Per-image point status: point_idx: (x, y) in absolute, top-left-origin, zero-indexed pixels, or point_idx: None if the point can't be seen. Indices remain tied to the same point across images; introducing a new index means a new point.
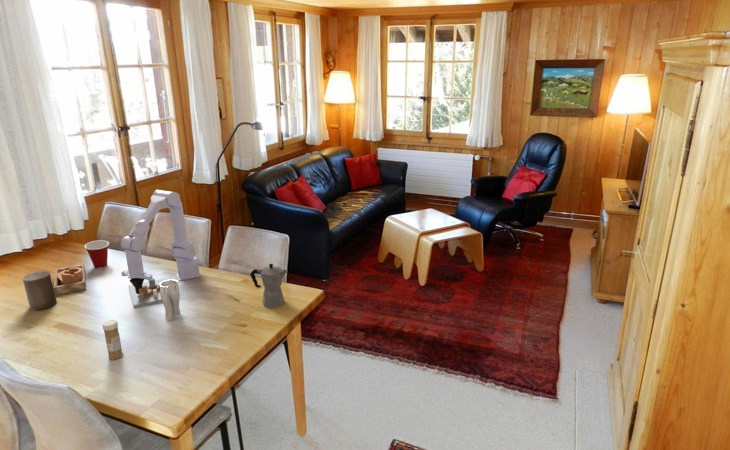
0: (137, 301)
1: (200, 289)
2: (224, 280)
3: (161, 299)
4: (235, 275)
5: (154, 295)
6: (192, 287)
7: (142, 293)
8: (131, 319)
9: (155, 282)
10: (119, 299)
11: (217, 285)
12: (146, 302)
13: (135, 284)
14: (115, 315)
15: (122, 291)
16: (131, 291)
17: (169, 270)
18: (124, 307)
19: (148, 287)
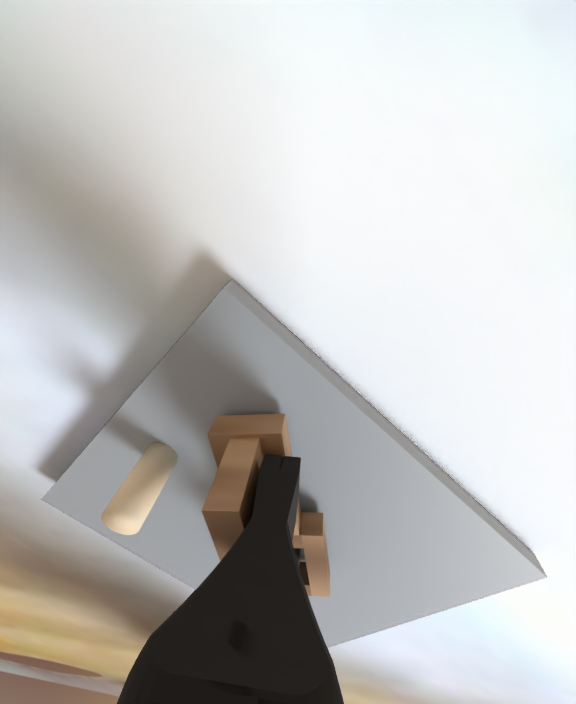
0: (258, 371)
1: (58, 567)
2: (50, 629)
3: (95, 439)
4: (54, 656)
5: (140, 466)
6: (117, 580)
7: (224, 465)
8: (22, 8)
9: (354, 612)
10: (513, 394)
11: (28, 599)
12: (158, 373)
13: (225, 588)
14: (309, 26)
15: (565, 508)
16: (456, 508)
17: (391, 692)
18: (345, 264)
19: (307, 560)
